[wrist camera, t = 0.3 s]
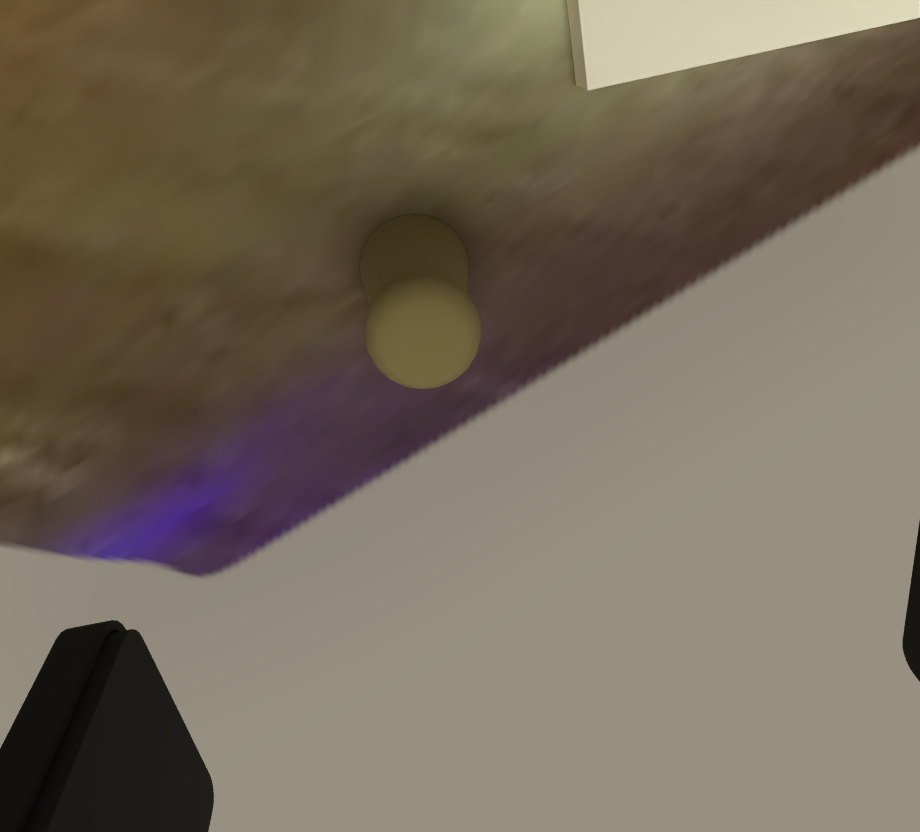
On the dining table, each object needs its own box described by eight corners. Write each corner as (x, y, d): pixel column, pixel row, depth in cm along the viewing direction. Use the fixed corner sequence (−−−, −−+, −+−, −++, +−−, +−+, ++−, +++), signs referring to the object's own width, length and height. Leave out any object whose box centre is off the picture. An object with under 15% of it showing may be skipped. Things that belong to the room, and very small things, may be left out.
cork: (485, 236, 42) (516, 304, 33) (446, 334, 45) (465, 425, 35) (379, 197, 41) (379, 257, 31) (345, 301, 43) (335, 386, 34)
